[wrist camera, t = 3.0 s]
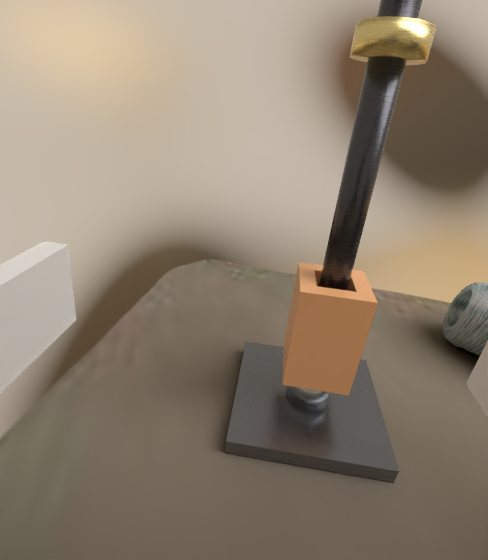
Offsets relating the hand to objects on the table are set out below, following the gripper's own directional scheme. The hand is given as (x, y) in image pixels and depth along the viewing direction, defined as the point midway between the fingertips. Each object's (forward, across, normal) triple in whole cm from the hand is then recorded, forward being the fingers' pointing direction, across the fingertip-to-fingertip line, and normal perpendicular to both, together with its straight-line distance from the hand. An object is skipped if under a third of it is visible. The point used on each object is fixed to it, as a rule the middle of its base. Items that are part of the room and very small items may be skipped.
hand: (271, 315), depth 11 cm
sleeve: (+14, +5, -13) cm, 19 cm away
